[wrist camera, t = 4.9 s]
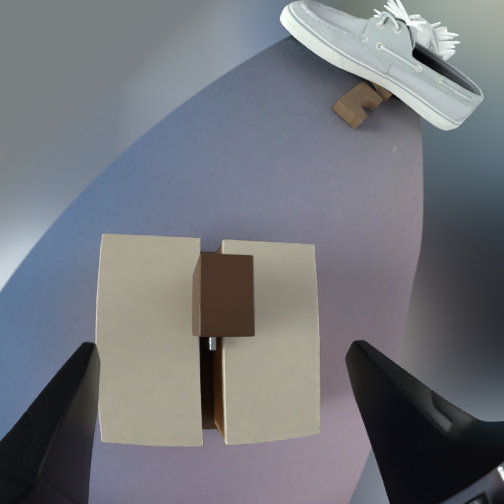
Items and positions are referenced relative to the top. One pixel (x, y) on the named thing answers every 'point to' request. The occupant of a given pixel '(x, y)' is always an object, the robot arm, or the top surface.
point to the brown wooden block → (223, 297)
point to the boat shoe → (386, 59)
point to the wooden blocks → (360, 102)
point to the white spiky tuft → (425, 31)
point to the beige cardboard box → (200, 358)
